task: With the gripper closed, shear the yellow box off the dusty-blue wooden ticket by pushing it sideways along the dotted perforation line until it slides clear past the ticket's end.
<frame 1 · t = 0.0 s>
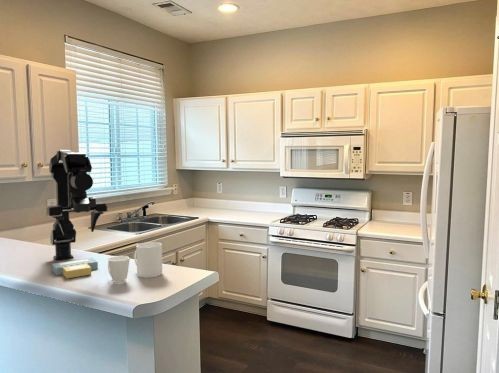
hand: (78, 233, 136), 15 cm above the table, fingers open, 9 cm apart
cup: (117, 281, 129), on the table
yellow box: (77, 270, 136), point 1 cm above the table, slide at 0.0 cm
mug: (146, 274, 137), on the table
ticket: (75, 269, 143), on the table
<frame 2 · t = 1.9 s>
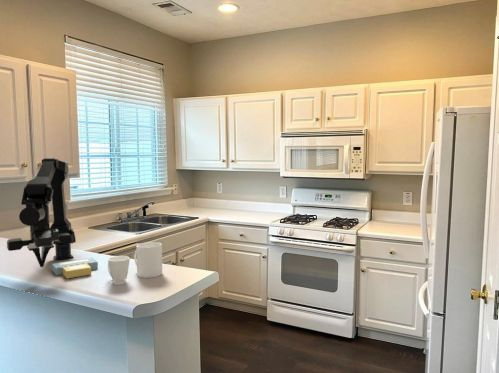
hand: (41, 266, 129), 5 cm above the table, fingers closed
nothing on the table moved.
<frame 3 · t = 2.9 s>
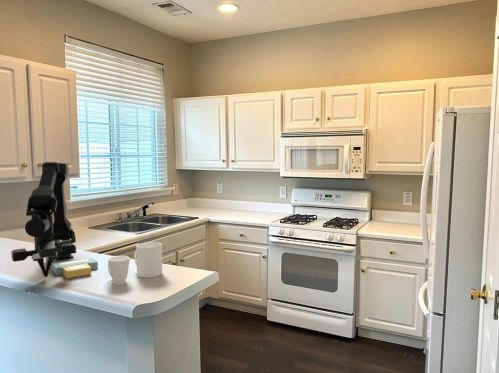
hand: (45, 276, 130), 1 cm above the table, fingers closed
nothing on the table moved.
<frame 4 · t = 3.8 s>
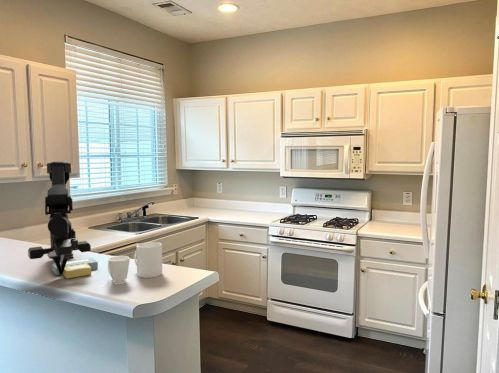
hand: (61, 274, 133), 1 cm above the table, fingers closed
yellow box: (77, 270, 136), point 1 cm above the table, slide at 0.0 cm, touching gripper
everything else where it was.
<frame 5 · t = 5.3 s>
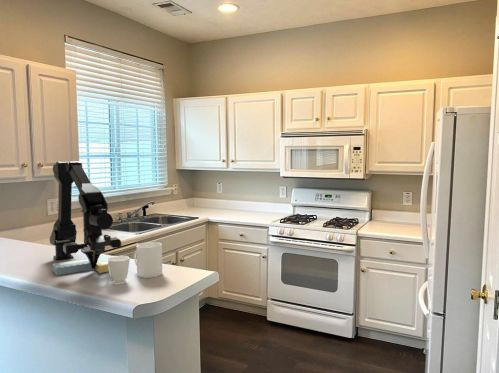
hand: (93, 268, 139), 1 cm above the table, fingers closed
yellow box: (108, 265, 142), point 1 cm above the table, slide at 10.6 cm, touching gripper
everything else where it was.
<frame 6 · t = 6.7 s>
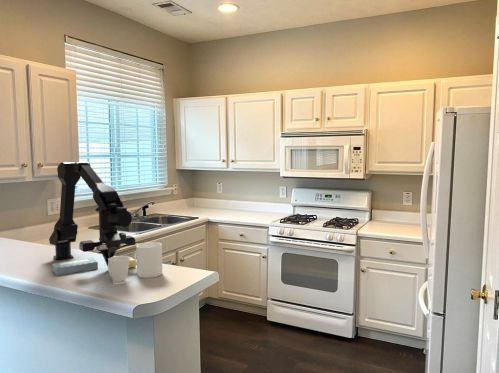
hand: (108, 266, 143), 1 cm above the table, fingers closed
yellow box: (122, 263, 146), point 1 cm above the table, slide at 16.0 cm, touching gripper
everything else where it was.
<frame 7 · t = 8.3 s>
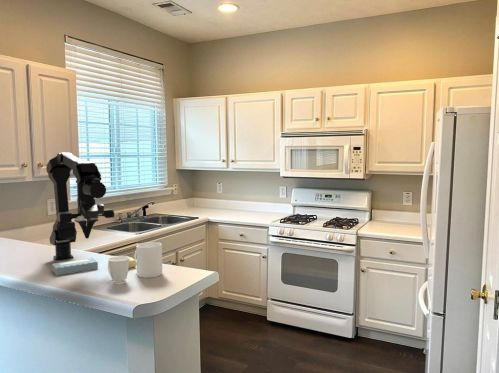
hand: (87, 238, 143), 12 cm above the table, fingers closed
yellow box: (122, 263, 146), point 1 cm above the table, slide at 16.0 cm
everything else where it was.
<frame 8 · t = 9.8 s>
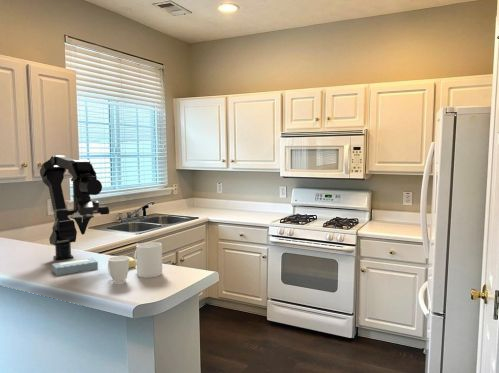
hand: (82, 234, 147), 12 cm above the table, fingers closed
nothing on the table moved.
at the end: yellow box slide at 16.0 cm; yellow box touching nothing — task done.
